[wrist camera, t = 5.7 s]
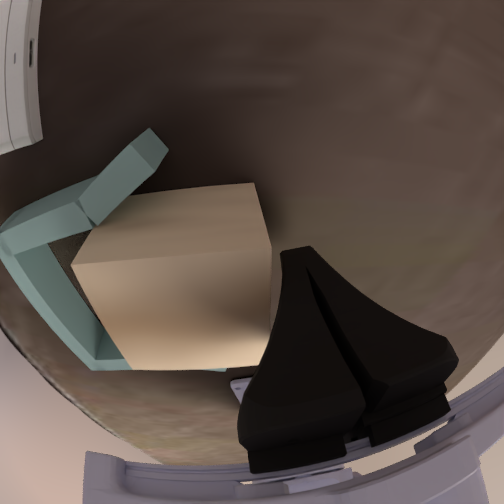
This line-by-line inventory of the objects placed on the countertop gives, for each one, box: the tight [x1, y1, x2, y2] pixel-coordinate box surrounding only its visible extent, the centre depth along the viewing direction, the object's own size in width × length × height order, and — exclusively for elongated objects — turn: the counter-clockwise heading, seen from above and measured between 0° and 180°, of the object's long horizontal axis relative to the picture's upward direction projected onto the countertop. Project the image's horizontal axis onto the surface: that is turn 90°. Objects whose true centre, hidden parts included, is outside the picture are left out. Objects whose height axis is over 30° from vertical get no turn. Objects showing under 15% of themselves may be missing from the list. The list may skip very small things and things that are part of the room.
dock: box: [0, 128, 227, 372], centre depth 12 cm, size 13×9×2 cm
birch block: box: [71, 183, 272, 370], centre depth 11 cm, size 6×6×4 cm
